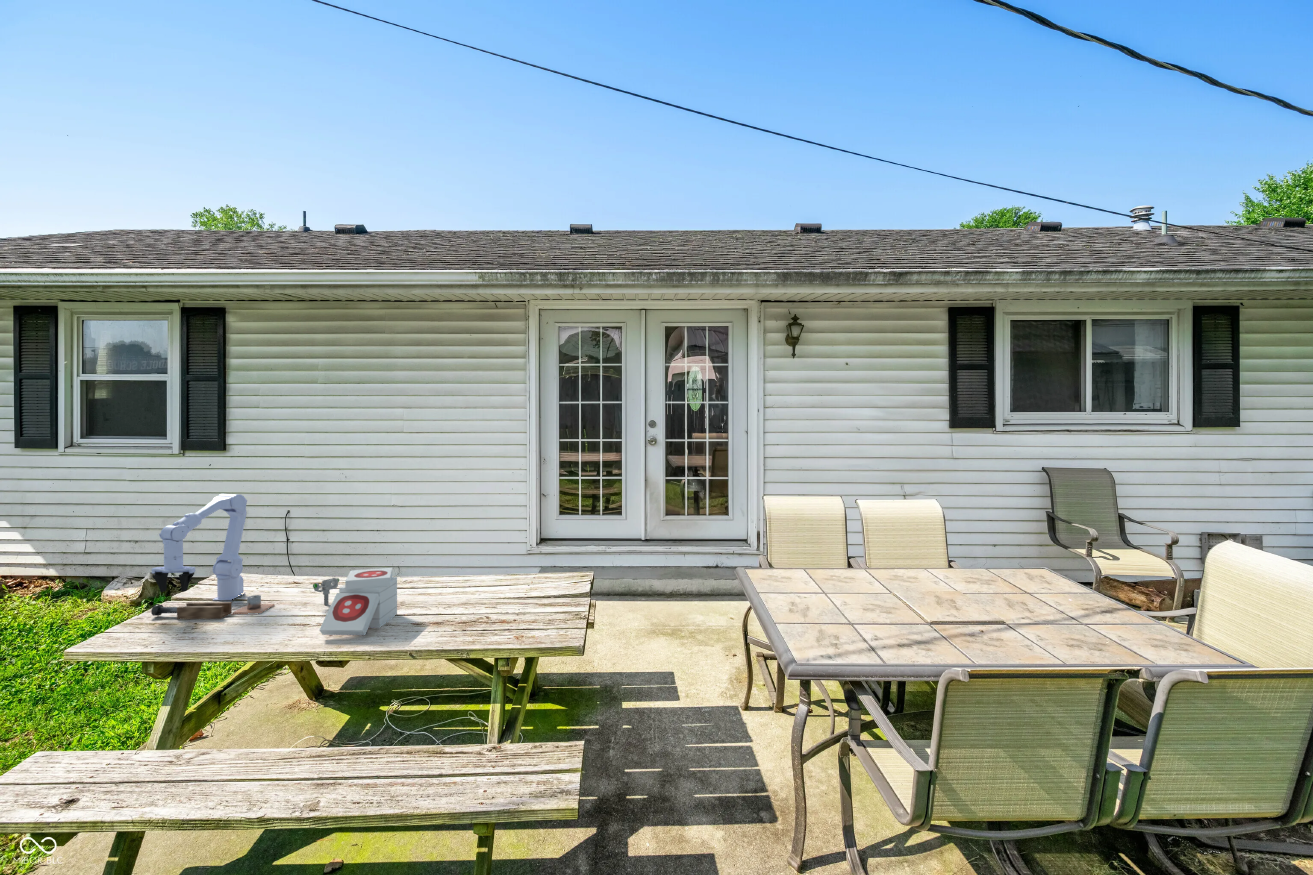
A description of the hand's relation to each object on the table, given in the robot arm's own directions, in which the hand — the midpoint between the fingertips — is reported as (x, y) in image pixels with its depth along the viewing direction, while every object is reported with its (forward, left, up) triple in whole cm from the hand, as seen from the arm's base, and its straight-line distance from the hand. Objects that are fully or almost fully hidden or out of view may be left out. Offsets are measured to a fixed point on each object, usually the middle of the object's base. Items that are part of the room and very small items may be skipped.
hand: (173, 591), depth 225 cm
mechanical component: (-11, +52, -9) cm, 54 cm away
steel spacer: (-5, +27, -8) cm, 28 cm away
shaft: (+2, +5, -9) cm, 10 cm away
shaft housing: (+2, +13, -9) cm, 16 cm away
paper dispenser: (+14, +77, -10) cm, 78 cm away
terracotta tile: (-5, +27, -9) cm, 29 cm away
